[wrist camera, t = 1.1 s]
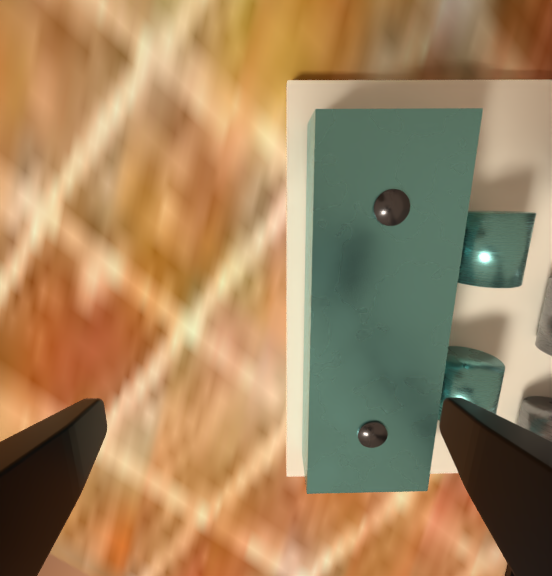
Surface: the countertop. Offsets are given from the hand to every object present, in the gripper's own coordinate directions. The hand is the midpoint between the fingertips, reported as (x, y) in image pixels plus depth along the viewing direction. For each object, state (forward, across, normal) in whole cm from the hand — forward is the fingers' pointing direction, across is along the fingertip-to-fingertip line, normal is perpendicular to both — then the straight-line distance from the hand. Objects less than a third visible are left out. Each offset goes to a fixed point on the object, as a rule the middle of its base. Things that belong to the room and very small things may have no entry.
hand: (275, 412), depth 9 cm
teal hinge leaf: (+11, -7, +1) cm, 13 cm away
